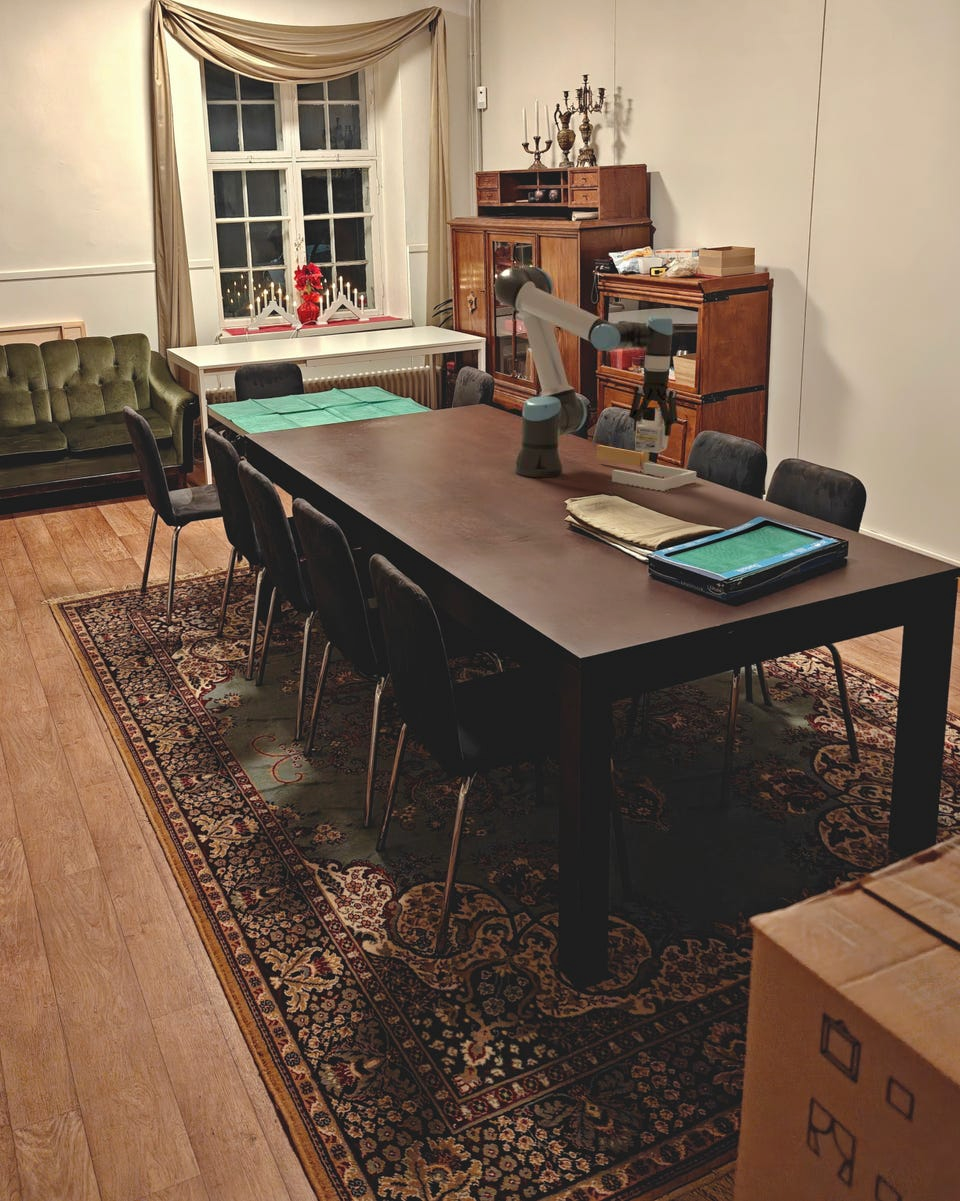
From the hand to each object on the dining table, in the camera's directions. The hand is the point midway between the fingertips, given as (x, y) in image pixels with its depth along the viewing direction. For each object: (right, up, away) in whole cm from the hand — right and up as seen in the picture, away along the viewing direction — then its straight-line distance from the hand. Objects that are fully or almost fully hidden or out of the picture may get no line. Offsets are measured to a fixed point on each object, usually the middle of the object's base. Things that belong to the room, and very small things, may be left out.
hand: (651, 443), depth 352 cm
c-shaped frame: (+1, -12, +2) cm, 12 cm away
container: (0, -2, +1) cm, 2 cm away
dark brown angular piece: (0, -7, +17) cm, 18 cm away
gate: (-6, -3, +22) cm, 23 cm away
